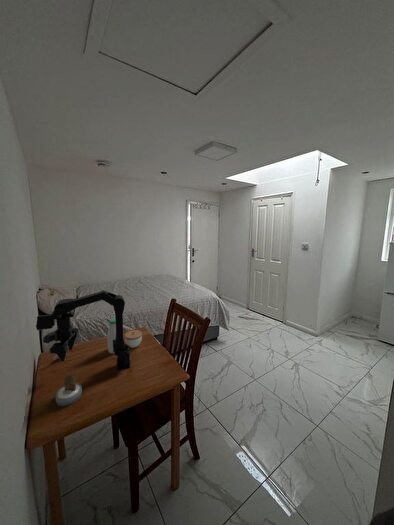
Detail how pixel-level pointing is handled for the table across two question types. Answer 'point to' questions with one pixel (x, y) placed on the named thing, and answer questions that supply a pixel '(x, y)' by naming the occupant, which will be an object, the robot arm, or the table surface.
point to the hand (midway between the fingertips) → (66, 355)
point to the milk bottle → (111, 335)
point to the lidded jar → (133, 338)
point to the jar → (68, 395)
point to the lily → (57, 356)
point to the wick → (70, 382)
